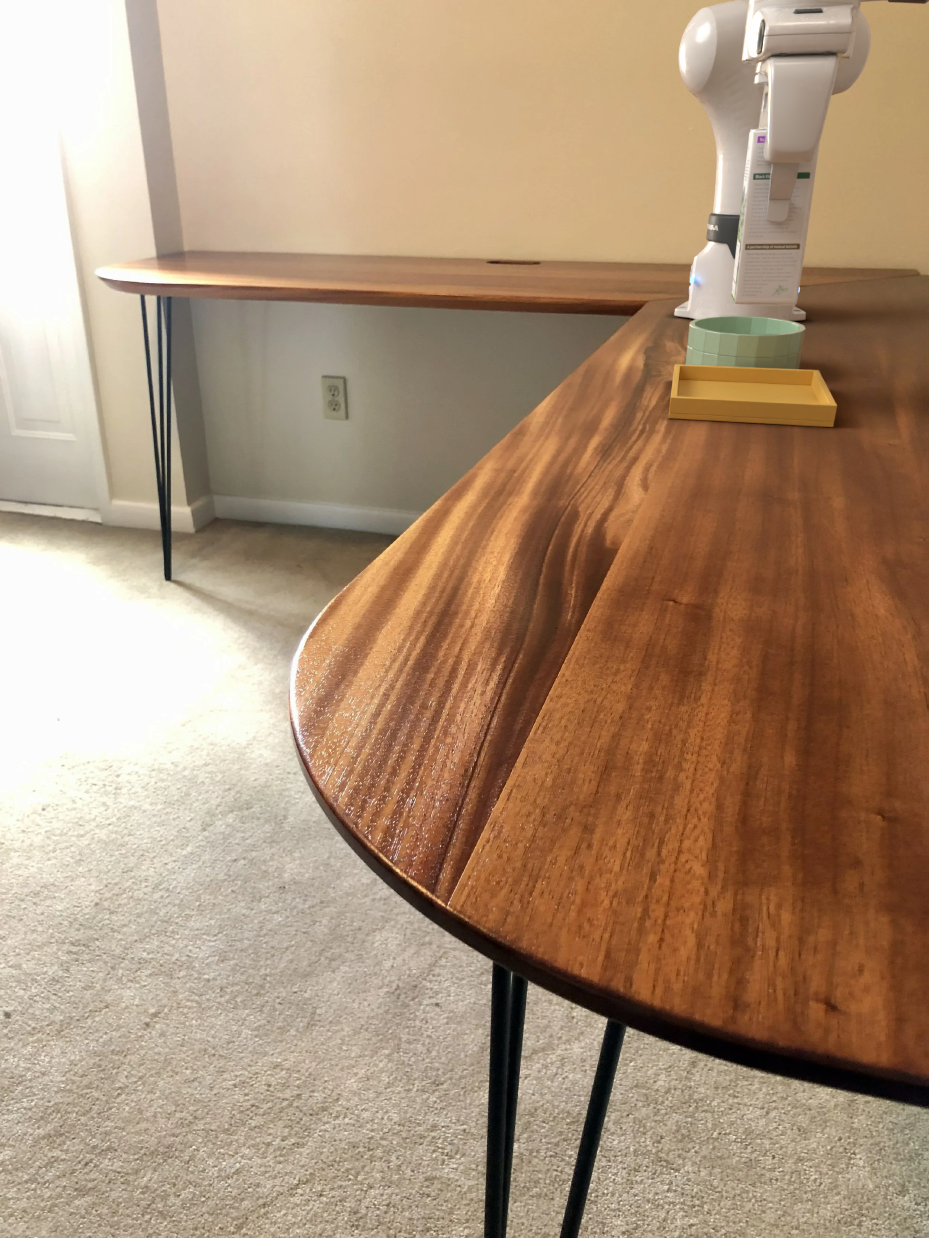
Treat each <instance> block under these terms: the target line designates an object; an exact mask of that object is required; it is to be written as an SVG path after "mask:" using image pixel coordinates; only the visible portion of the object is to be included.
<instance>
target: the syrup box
mask: <svg viewBox="0 0 929 1238" xmlns="http://www.w3.org/2000/svg"><path fill="white" fill-rule="evenodd" d="M765 134H766V128H760V129H755V130H752V129H751V130H750V133H749V142H748V150H747V158H746V166H745V175H744V184H743V193H742V202H741V212H740V220H739V229H738V238H737V246H736V256H735V264H734V273H733V283H732V292H731V295H732V298H733V300H734V303H736V304H743V305H764V306H790V305H792V306H795V307H796V306H797V303H798V297H799V293H800V290H799V287H800V286H801V278H802V272H803V265H804V260H805V254H806V253H805V252H806V246H807V239H808V231H809V225H810V218H811V209H812V204H813V203H812V202H813V194H814V189H815V179H816V172H817V166H818V165H817V164H818V157H819V151H820V143H821V141H820V142H819V145H818V148H817V151H816V154H815V156H814V158H813V160H812V161H811V162H802V163H799V167H798V174H797V179H796V183H795V186H794V190H793V193H792V197H791V201H790V207H789V214H788V218H787V220H785V221H784V222H770V221H768V220H767V219H766V209H767V202H768V196H769V185H770V173H771V165H772V162H767V161H765V160H764V159H763V148H764V141H765Z"/></svg>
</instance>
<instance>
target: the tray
mask: <svg viewBox="0 0 929 1238" xmlns="http://www.w3.org/2000/svg"><path fill="white" fill-rule="evenodd" d="M669 399H670V400H669V409H668V418H667V419H677V420H693V421H695V420H696V421H709V422H710V421H711V422H712V421H713V422H730V423H745V424H747V423H748V424H749V423H750V424H764V425H765V424H766V425H767V424H768V425H784V426H803V427H820V428H821V427H822V428H823V427H824V428H834V424H835V420H836V414H837V409H838V404H837V402H836V400H835V399H834V397H833V395H832V393H831V391H830V389H829V387H828V385H827V383H826V381H825V380H824V378H823V376H822V374H821V371H820V370H819V369H800V368H799V369H779V368H755V367H731V366H707V365H685V364H682V363H681V364H679V363H674V367H673V375H672V385H671V391H670V398H669Z"/></svg>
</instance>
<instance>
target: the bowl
mask: <svg viewBox="0 0 929 1238" xmlns="http://www.w3.org/2000/svg"><path fill="white" fill-rule="evenodd" d="M806 330H807V328H806V326H805V325H804V324H801V323H799V322H796V321H788V320H783V319H776V318H768V317H756V316H715V317H705V318H700V319H693V320H691V321H689V327H688V335H687V336H688V337H687V345H686V353H685V364H684V365H707V366H731V367H755V368H779V369H800V365H801V360H802V355H803V347H804V342H805V337H806Z"/></svg>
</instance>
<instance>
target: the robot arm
mask: <svg viewBox="0 0 929 1238" xmlns="http://www.w3.org/2000/svg"><path fill="white" fill-rule="evenodd" d="M884 1H885V2H888V3H895V4H897V3H899V4H920V5H926V4H927V3H928V2H929V0H730V1H725V2H720V3H716V4H712V5H708V6H704V7H702V8H700V9H699V10H698V11H696V12H695V14H694V15H693V16H692V17H691V19H690V20H689V22H688V23H687V25H686V27H685V29H684V30H683V34H682V36H681V39H680V42H679V47H678V55H677V59H678V60H677V61H678V69H679V74H680V77H681V80H682V82H683V84H684V86H685V87H686V89H687V90H688V91H689V92H690V94H692V96H694V97H695V98H696V100H697V101H698V102H699V103H700V105H701V106H702V108H703V110H704V112H705V115H707V118H708V120H709V123H710V126H711V130H712V132H713V136H714V137H713V138H714V141H715V150H716V151H715V152H716V169H715V185H714V195H713V196H714V197H713V206H712V212H711V213H709V214H708V215H709V216H708V222H707V224H706V241H707V243H706V245H705V246H704V248H703V249H702V250H700V252H698V253H697V255H695V256H694V257H693V263H691V266H690V272H689V284H690V285H689V287H688V290H687V293H688V295H689V296H688V300H687V301H685V302H683V303H681V304H680V305H678V306H677V307H675V309H674V313H673V316H675V317H680V318H689V319H693V320H695V319H700V318H705V317H715V316H756V317H768V318H776V319H783V320H788V321H793V322H796V321H805V320H806V319H807V316H806V315H807V312H806V311H804V310H802V309H801V308H799V307H797V306H796V305H795V306H792V305H790V306H764V305H743V304H736V303H734V300H733V298H732V295H731V292H732V283H733V273H734V264H735V256H736V246H737V238H738V229H739V220H740V212H741V202H742V193H743V184H744V175H745V166H746V158H747V150H748V142H749V133H750V130H751V129H752V130H755V129H760V128H766V134H765V141H764V148H763V159H764V160H765V161H767V162H772V165H771V173H770V185H769V196H768V202H767V209H766V219H767V220H768V221H770V222H784V221H785V220H787V218H788V214H789V207H790V201H791V197H792V193H793V190H794V186H795V183H796V179H797V174H798V167H799V163H802V162H811V161H812V160H813V158H814V156H815V154H816V151H817V148H818V145H819V146H820V144H819V142H820V143H821V139H822V136H823V131H824V127H825V123H826V119H827V115H828V111H829V108H830V104H831V103H830V102H831V99H832V96H834V95H835V96H836V95H838V94H842V93H844V92H846V91H847V90H849V89H850V88H851V87H852V86H853V85H854V84H855V83H856V82H857V81H858V79H859V78H860V76H861V75H862V72H863V71H864V69H865V67H866V66H867V65H866V64H867V62H868V60H869V55H870V51H871V46H872V45H871V44H872V37H871V36H872V35H871V29H870V25H869V22H868V20H867V17H866V15H865V14H864V13H863V12H862V10H861V3H869V2H884ZM800 289H801V287H800V286H799V291H800Z"/></svg>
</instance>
